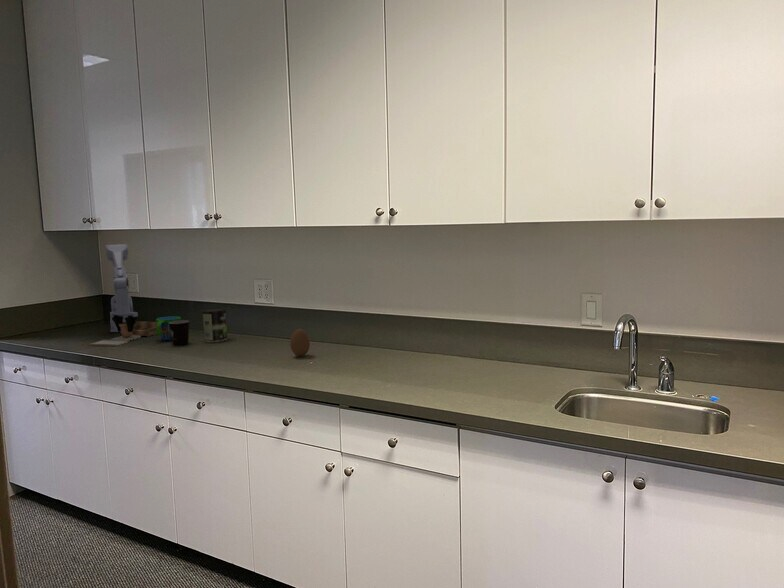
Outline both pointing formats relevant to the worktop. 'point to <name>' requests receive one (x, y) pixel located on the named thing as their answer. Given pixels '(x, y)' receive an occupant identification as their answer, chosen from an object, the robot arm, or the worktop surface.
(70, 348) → the worktop surface
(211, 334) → the coffee can
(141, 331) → the cold frame
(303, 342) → the egg
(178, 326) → the coffee mug
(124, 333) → the clay pot
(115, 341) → the frame lid
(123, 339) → the stone tile
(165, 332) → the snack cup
